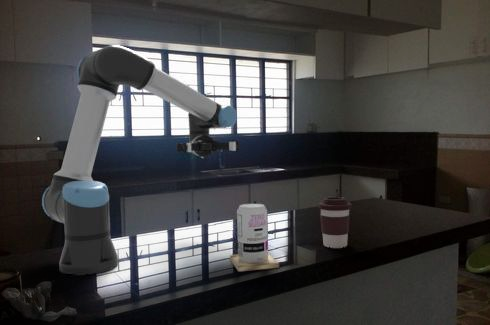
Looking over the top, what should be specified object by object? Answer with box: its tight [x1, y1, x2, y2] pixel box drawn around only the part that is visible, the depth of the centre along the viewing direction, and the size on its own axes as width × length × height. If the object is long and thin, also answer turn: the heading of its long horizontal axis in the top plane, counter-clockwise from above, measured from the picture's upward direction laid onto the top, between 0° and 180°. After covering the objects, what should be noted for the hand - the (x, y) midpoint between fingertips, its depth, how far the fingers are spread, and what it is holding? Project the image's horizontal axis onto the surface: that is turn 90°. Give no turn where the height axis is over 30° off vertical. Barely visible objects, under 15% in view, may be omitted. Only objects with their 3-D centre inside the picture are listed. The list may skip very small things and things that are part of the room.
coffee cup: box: [318, 196, 352, 249], centre depth 130 cm, size 10×10×15 cm
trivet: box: [229, 253, 280, 272], centre depth 114 cm, size 11×11×1 cm
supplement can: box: [236, 203, 269, 263], centre depth 114 cm, size 8×8×15 cm
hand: (212, 146), depth 126 cm, fingers open, 13 cm apart
